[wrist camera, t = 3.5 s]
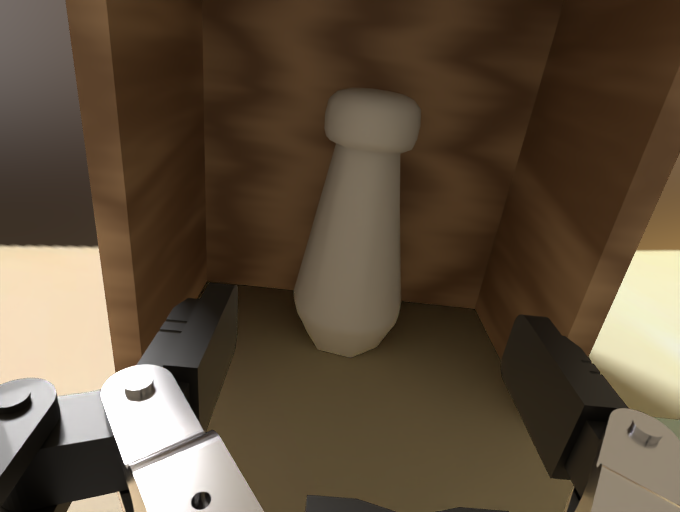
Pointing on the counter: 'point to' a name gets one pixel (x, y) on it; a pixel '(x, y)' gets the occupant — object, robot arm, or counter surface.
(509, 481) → the counter surface
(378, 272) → the salt shaker
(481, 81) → the cubby
